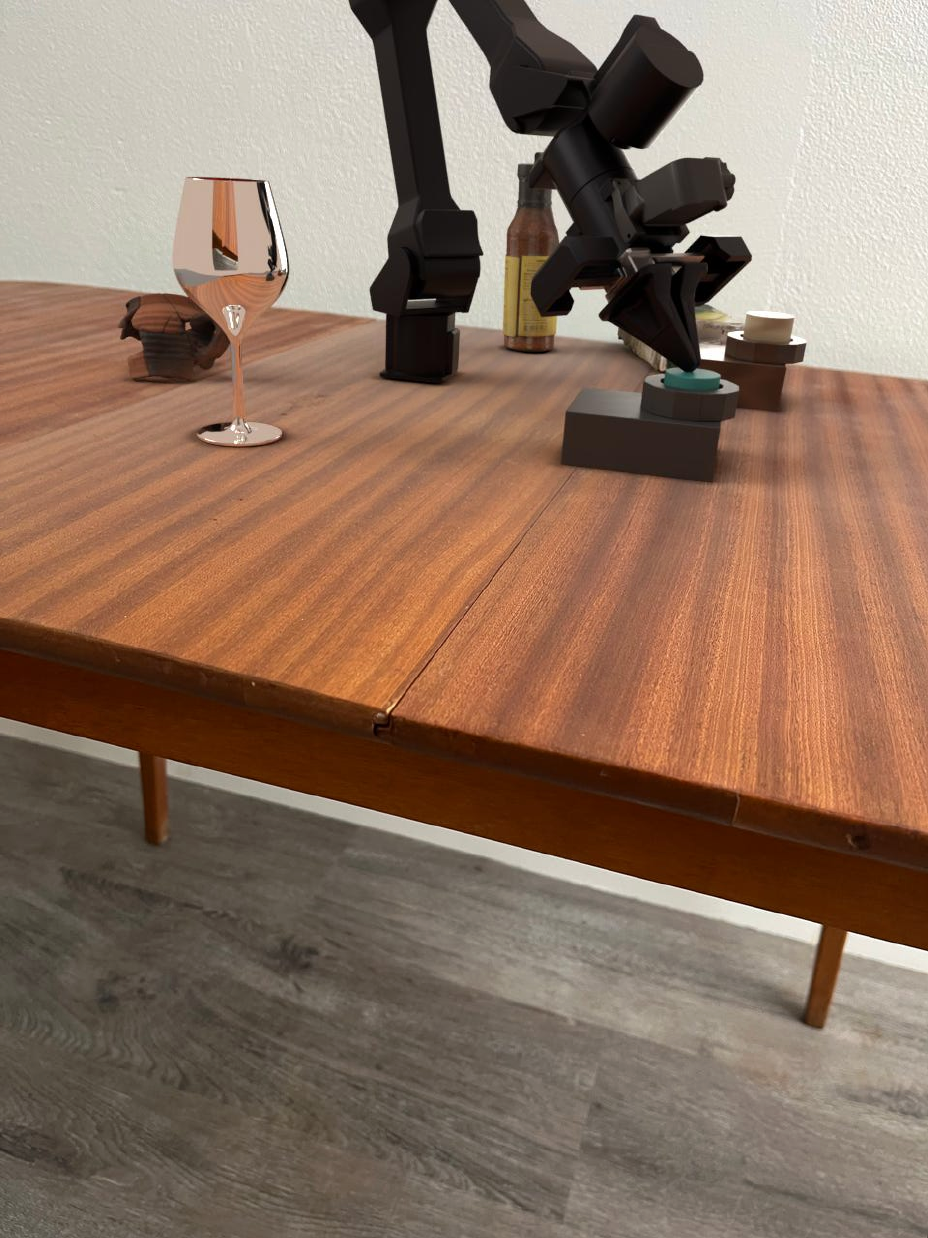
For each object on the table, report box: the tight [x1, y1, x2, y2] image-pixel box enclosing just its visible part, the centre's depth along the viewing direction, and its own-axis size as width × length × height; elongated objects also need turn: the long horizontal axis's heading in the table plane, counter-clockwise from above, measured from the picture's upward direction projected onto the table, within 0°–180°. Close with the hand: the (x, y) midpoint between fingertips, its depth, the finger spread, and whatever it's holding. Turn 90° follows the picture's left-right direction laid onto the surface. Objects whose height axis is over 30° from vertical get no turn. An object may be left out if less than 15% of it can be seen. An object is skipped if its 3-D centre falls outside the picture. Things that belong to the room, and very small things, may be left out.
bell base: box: [675, 331, 808, 413], centre depth 96 cm, size 12×9×6 cm
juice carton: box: [617, 303, 745, 372], centre depth 114 cm, size 20×10×6 cm, turn 7°
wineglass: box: [171, 176, 291, 447], centre depth 72 cm, size 8×8×18 cm
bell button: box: [743, 310, 795, 342], centre depth 94 cm, size 4×4×3 cm
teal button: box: [664, 368, 721, 391], centre depth 73 cm, size 4×4×2 cm
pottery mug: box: [117, 292, 230, 382], centre depth 94 cm, size 12×10×8 cm
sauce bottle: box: [502, 162, 560, 353], centre depth 112 cm, size 6×6×20 cm
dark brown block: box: [560, 373, 739, 483], centre depth 75 cm, size 12×9×6 cm
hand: (694, 368), depth 73 cm, fingers closed, pressing on teal button
